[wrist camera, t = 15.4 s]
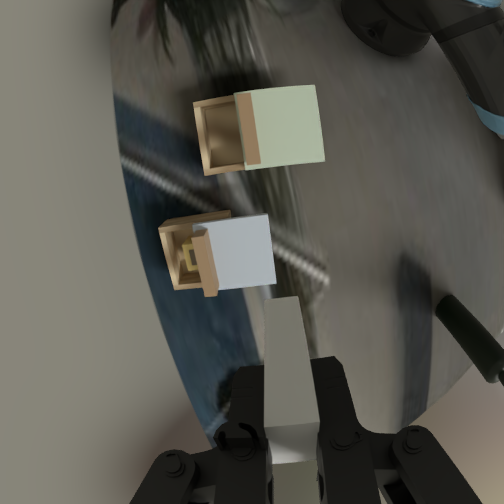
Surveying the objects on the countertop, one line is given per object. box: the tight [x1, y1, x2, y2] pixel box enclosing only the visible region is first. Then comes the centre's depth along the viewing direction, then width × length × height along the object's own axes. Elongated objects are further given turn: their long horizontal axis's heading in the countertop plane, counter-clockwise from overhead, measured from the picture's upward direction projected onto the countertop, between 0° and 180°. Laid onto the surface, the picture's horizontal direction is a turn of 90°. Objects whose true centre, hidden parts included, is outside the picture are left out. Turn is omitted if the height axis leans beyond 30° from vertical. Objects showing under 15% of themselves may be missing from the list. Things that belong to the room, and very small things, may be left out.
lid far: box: [191, 213, 276, 297], centre depth 37 cm, size 10×10×4 cm
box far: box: [158, 210, 231, 290], centre depth 42 cm, size 10×10×4 cm
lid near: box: [234, 85, 325, 170], centre depth 31 cm, size 10×10×4 cm
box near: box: [193, 95, 245, 176], centre depth 36 cm, size 10×10×4 cm
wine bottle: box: [436, 295, 504, 386], centre depth 35 cm, size 6×6×30 cm
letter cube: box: [182, 236, 198, 271], centre depth 42 cm, size 4×4×4 cm
